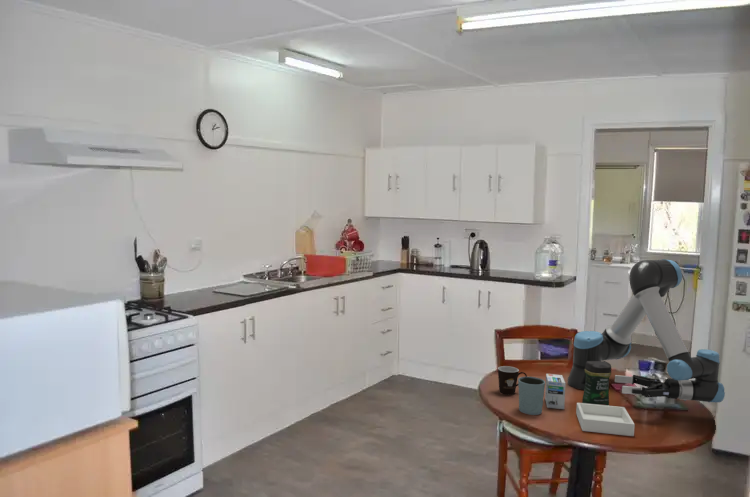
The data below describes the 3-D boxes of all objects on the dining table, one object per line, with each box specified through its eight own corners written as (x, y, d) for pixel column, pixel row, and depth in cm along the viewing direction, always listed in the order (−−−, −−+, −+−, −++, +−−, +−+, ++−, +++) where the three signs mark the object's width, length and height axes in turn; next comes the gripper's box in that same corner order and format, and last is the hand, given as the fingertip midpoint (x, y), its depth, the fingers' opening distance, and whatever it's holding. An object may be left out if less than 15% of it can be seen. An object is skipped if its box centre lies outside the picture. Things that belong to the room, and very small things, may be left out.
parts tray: (576, 413, 221) (576, 402, 221) (623, 418, 218) (624, 407, 217) (582, 430, 205) (583, 419, 204) (633, 436, 201) (634, 424, 201)
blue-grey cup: (527, 417, 216) (529, 385, 215) (511, 407, 226) (512, 377, 225) (549, 413, 221) (551, 382, 219) (532, 404, 230) (533, 375, 229)
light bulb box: (564, 409, 225) (566, 382, 224) (546, 408, 226) (548, 381, 225) (561, 400, 236) (563, 374, 235) (544, 398, 237) (545, 373, 236)
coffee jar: (589, 411, 224) (592, 364, 222) (579, 404, 232) (581, 358, 230) (612, 410, 225) (615, 364, 224) (601, 403, 233) (604, 358, 232)
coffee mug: (494, 394, 241) (496, 370, 240) (498, 387, 249) (499, 365, 248) (523, 398, 237) (524, 374, 236) (526, 392, 245) (527, 368, 244)
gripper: (687, 410, 209) (624, 404, 214) (667, 388, 234) (611, 383, 238) (689, 389, 209) (626, 384, 213) (668, 370, 233) (612, 365, 237)
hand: (618, 383), depth 226 cm, fingers open, 13 cm apart
